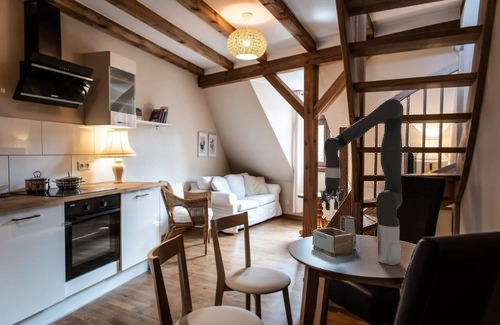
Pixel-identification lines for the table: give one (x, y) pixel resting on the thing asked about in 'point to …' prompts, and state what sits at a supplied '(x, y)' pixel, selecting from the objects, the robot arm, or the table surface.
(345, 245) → the pickup bed
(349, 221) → the coffee box
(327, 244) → the panel
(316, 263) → the table surface
